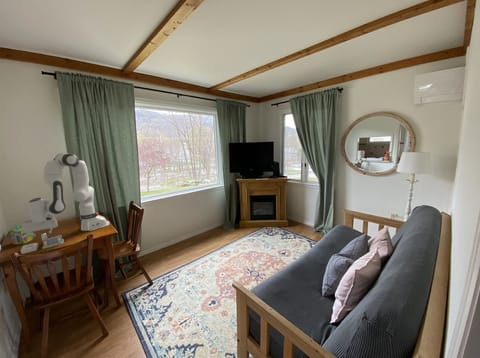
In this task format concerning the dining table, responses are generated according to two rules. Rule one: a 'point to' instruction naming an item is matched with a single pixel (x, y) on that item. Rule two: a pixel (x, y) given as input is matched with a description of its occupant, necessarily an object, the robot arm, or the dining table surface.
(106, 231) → the dining table surface
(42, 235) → the steel pin
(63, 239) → the peg rack
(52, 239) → the bar
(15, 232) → the chalk box
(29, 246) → the slot block
